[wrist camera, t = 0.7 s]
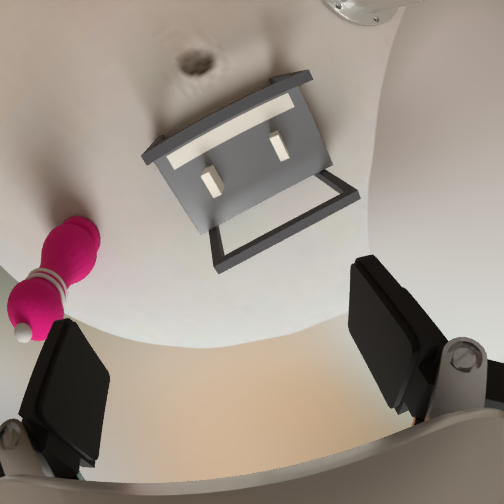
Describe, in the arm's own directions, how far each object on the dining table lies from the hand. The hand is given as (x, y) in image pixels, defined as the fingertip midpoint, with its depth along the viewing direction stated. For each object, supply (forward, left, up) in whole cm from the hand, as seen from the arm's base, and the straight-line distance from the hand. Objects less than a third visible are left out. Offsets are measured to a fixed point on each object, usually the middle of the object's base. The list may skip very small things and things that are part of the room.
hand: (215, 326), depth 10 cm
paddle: (+1, +3, -26) cm, 26 cm away
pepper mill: (+17, -8, -30) cm, 36 cm away
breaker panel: (-3, +4, -30) cm, 30 cm away
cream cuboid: (-7, +6, -26) cm, 28 cm away
